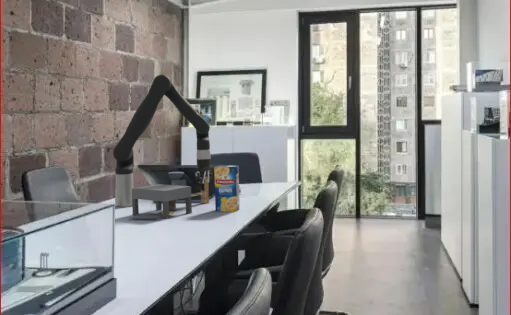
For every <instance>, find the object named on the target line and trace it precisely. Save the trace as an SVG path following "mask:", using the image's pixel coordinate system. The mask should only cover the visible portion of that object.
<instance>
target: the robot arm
mask: <svg viewBox="0 0 511 315" xmlns="http://www.w3.org/2000/svg"><path fill="white" fill-rule="evenodd" d="M164 96H165V97H166V98H168V100H170V102H171V103H172V104H173V105H174V107H175V109H177V111H178V112H179V113H180V114H181V115H182V117H183V118H184V119H185V120H186V121H188V123H190V124H191V125H192V127H193V128H194V129H195V134H196V167H197V168H198V169H197V171H196V172H194V173H193V174H194V178H195V181H196V182H197V184H198V183H199V189H200V191H201V190H202V191H203V190H204V179H205V177H208V190H209V187H210V186H209V185H210V182H212V179H213V174H214V170H211V168H210V167H211V166H212V163H211V162H212V161H211V160H212V159H211V157H212V156H211V155H212V154H211V147H210V146H211V142H210V137H209V134H210V133H209V131H210V129H211V127H210V123H208V121H207V120H206V119H205V118H203V117H202V116H201V115H200V114H199V112H198V111H197V109H195V108H194V107H193V105H192V104H191V103H190V102H189V101H188V100H187V99H186V98H185V97H184V96H182V94H181V93H180V92H179V91H178V90H177V88H176V87H175V86H174V84H173V82H172V80H171V79H170V77H169V76H168V75H166V74H158V75H156V76H155V77H154V78H153V81H152V83H151V86H150V88H149V90H148V92H147V94H146V96H145V98H144V99H143V101H141V103H140V104H139V106H138V107H137V109H136V111H135V112H134V114H133V116H132V117H131V119H130V122H129V124H128V125H127V128H126V130H125V132H124V134H123V135H122V137H121V138H120V139H119V141H118V143H117V144H116V146H114V148H113V150H112V155H113V158H114V159H115V160H116V167H115V169H114V170H115V188H114V204H115V205H116V207H119V208H120V207H121V208H128V207H132V188H135V187H134V165H135V164H134V163H135V162H134V161H135V160H134V149H133V148H134V146H135V144H136V143H137V141H138V140H139V138H140V137H141V136H142V135H143V134H144V132H145V131H146V130H147V128H148V127H149V125H150V124H151V122H152V120H153V118H154V116H155V114H156V111H157V108H158V106H159V103H160V102H161V100H162V98H163V97H164ZM201 177H203V178H201ZM201 179H202V180H201Z"/></svg>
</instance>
